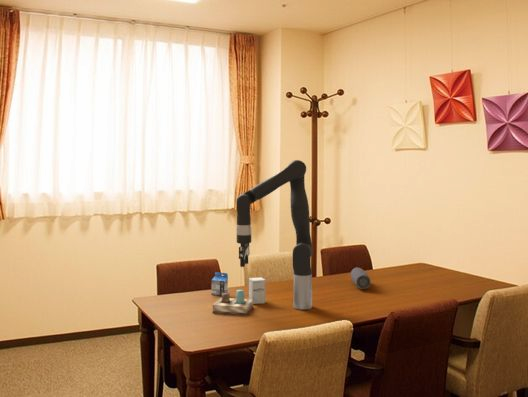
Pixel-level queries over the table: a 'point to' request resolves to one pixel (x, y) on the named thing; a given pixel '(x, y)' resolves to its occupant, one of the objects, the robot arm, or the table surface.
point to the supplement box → (257, 290)
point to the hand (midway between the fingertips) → (244, 265)
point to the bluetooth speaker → (360, 278)
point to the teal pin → (240, 297)
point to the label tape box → (219, 284)
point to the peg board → (232, 305)
